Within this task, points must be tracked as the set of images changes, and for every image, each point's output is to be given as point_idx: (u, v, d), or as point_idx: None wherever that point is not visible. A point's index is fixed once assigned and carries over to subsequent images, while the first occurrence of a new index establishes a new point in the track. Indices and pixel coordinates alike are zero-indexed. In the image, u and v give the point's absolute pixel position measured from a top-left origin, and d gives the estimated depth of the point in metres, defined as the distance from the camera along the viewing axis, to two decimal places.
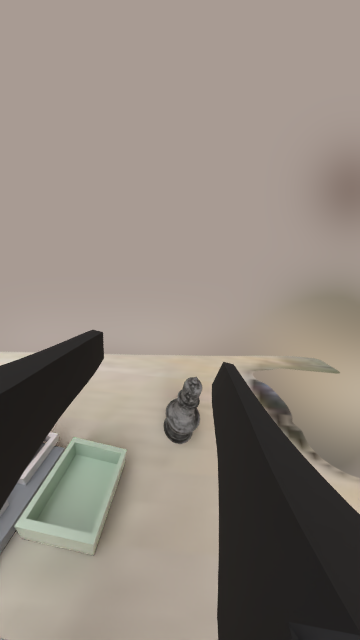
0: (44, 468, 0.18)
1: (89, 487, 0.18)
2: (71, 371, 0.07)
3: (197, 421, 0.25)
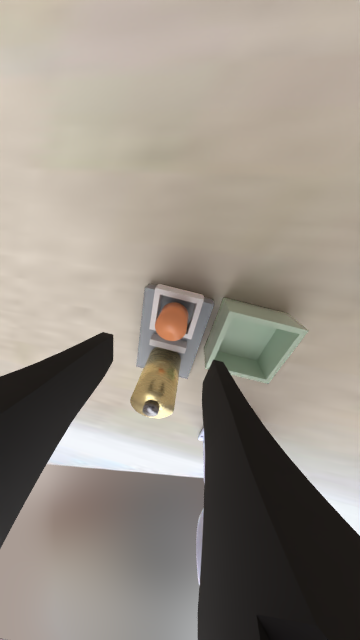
0: (201, 321, 0.16)
1: (249, 332, 0.17)
2: (84, 375, 0.07)
3: None
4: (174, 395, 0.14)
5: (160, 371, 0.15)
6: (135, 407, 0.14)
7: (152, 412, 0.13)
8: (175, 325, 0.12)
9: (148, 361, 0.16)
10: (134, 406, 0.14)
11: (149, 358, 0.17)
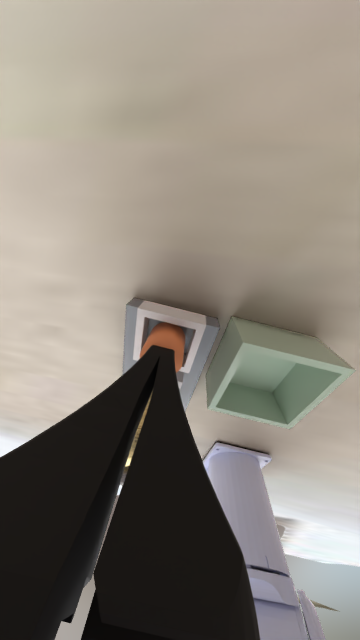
0: (202, 348, 0.12)
1: (264, 361, 0.13)
2: (147, 390, 0.07)
3: None
4: None
5: None
6: None
7: None
8: None
9: None
10: None
11: None
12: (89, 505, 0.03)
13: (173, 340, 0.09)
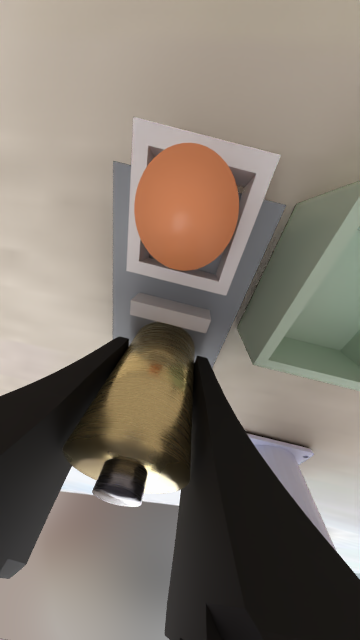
0: (246, 258, 0.07)
1: (341, 290, 0.08)
2: (104, 380, 0.07)
3: None
4: (189, 438, 0.05)
5: (151, 371, 0.06)
6: (82, 469, 0.05)
7: (124, 500, 0.04)
8: (201, 203, 0.04)
9: (127, 350, 0.08)
10: (79, 467, 0.05)
11: (131, 344, 0.08)
12: None
13: None
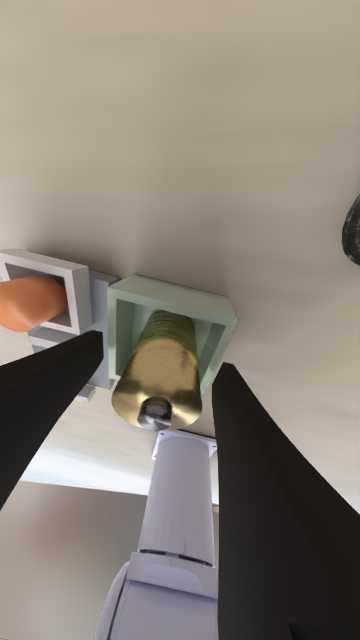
0: (100, 309, 0.11)
1: None
2: (71, 371, 0.07)
3: None
4: None
5: (172, 342, 0.08)
6: (121, 411, 0.07)
7: (159, 423, 0.06)
8: (11, 305, 0.07)
9: (146, 330, 0.09)
10: (119, 410, 0.07)
11: (147, 326, 0.10)
12: None
13: (21, 286, 0.08)
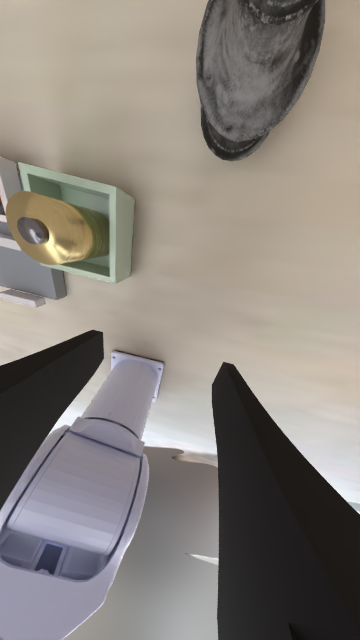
0: None
1: None
2: (71, 371, 0.07)
3: (297, 88, 0.08)
4: (75, 225, 0.10)
5: None
6: (18, 240, 0.10)
7: (32, 232, 0.09)
8: None
9: None
10: (17, 238, 0.10)
11: None
12: None
13: None
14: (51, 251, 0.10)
